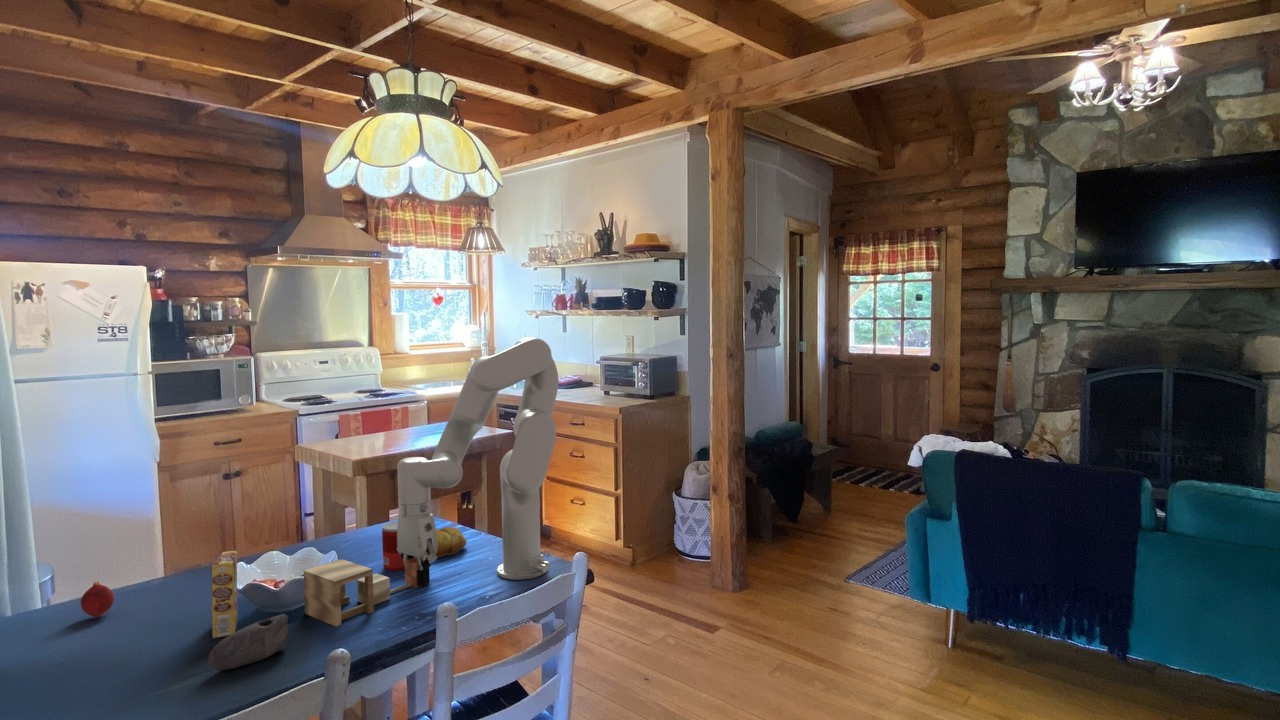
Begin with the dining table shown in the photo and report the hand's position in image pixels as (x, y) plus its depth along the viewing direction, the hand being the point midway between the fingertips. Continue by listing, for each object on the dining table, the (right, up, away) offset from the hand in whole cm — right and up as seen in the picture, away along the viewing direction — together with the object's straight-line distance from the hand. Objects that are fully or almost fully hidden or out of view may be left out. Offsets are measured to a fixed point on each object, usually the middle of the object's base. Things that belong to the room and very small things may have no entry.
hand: (417, 581), depth 172 cm
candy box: (-32, -2, -24) cm, 41 cm away
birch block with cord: (-4, -1, -5) cm, 6 cm away
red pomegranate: (-65, -2, -18) cm, 67 cm away
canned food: (-9, 0, +13) cm, 16 cm away
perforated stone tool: (-19, -3, -38) cm, 43 cm away
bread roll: (+1, 0, +23) cm, 23 cm away
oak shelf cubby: (-12, -2, -17) cm, 21 cm away
